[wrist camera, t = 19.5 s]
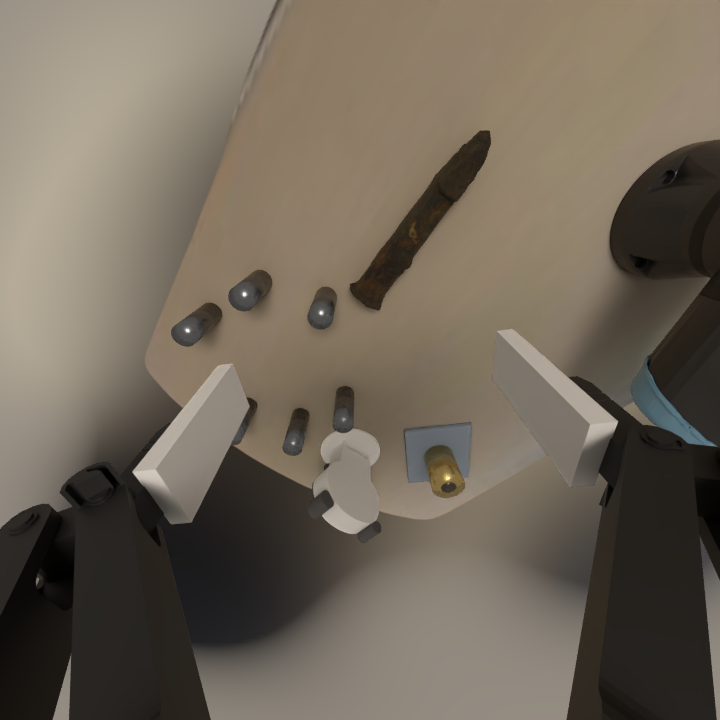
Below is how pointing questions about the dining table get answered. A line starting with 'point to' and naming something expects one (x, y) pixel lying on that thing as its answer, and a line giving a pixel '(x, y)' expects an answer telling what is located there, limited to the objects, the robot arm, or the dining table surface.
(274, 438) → the dining table surface
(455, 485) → the gold metal cylinder
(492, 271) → the dining table surface
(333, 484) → the panda figurine
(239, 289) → the spacer posts
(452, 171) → the hand tool
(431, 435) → the slate board
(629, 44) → the dining table surface
